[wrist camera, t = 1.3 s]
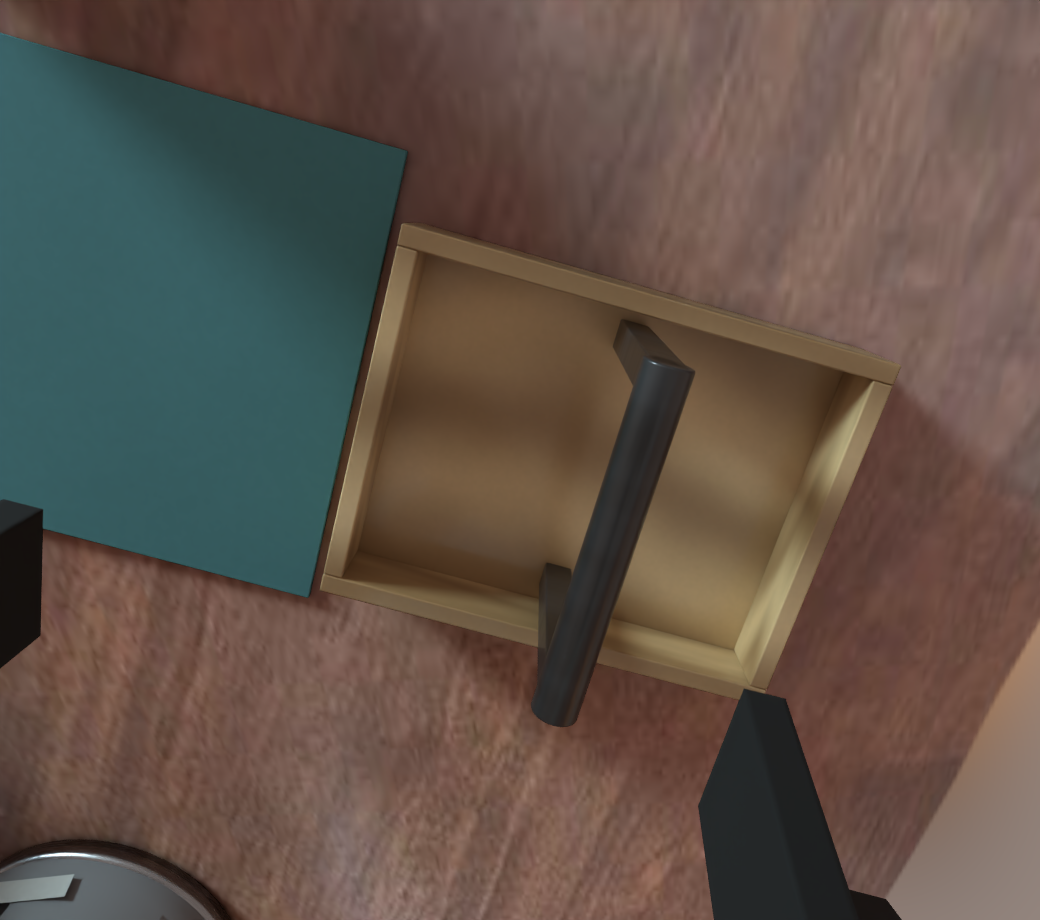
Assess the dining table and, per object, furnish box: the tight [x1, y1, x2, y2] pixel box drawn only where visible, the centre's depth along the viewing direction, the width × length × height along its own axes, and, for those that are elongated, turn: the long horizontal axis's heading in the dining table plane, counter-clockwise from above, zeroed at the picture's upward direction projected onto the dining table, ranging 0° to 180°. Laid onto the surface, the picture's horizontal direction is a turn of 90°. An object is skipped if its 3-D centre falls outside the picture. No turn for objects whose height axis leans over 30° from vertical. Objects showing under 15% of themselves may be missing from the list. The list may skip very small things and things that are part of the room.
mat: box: [0, 33, 408, 598], centre depth 34 cm, size 20×21×1 cm
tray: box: [320, 222, 901, 727], centre depth 30 cm, size 15×19×11 cm
